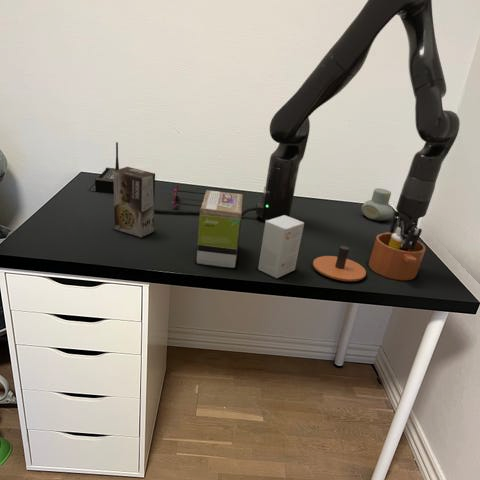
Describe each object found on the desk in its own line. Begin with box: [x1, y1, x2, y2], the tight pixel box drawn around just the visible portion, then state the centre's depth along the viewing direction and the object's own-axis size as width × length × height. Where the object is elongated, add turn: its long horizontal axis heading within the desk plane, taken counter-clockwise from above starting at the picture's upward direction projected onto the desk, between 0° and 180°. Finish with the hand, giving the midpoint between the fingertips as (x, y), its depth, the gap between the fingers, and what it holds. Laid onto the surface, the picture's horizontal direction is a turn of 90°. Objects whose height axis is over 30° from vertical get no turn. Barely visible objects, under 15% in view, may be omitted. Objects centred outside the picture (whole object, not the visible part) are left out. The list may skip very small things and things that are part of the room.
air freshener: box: [361, 187, 394, 222], centre depth 166 cm, size 11×8×10 cm
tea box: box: [196, 189, 244, 269], centre depth 120 cm, size 15×10×15 cm, turn 178°
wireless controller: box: [90, 141, 120, 195], centre depth 155 cm, size 20×14×17 cm
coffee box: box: [113, 166, 156, 238], centre depth 126 cm, size 9×6×16 cm
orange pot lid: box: [312, 245, 367, 282], centre depth 123 cm, size 14×14×7 cm
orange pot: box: [368, 231, 427, 281], centre depth 128 cm, size 13×18×8 cm
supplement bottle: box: [388, 227, 409, 251], centre depth 127 cm, size 6×6×10 cm
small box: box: [257, 215, 305, 279], centre depth 117 cm, size 8×6×13 cm
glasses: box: [171, 185, 206, 210], centre depth 153 cm, size 14×16×5 cm
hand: (396, 255), depth 128 cm, fingers closed on supplement bottle, 5 cm apart
